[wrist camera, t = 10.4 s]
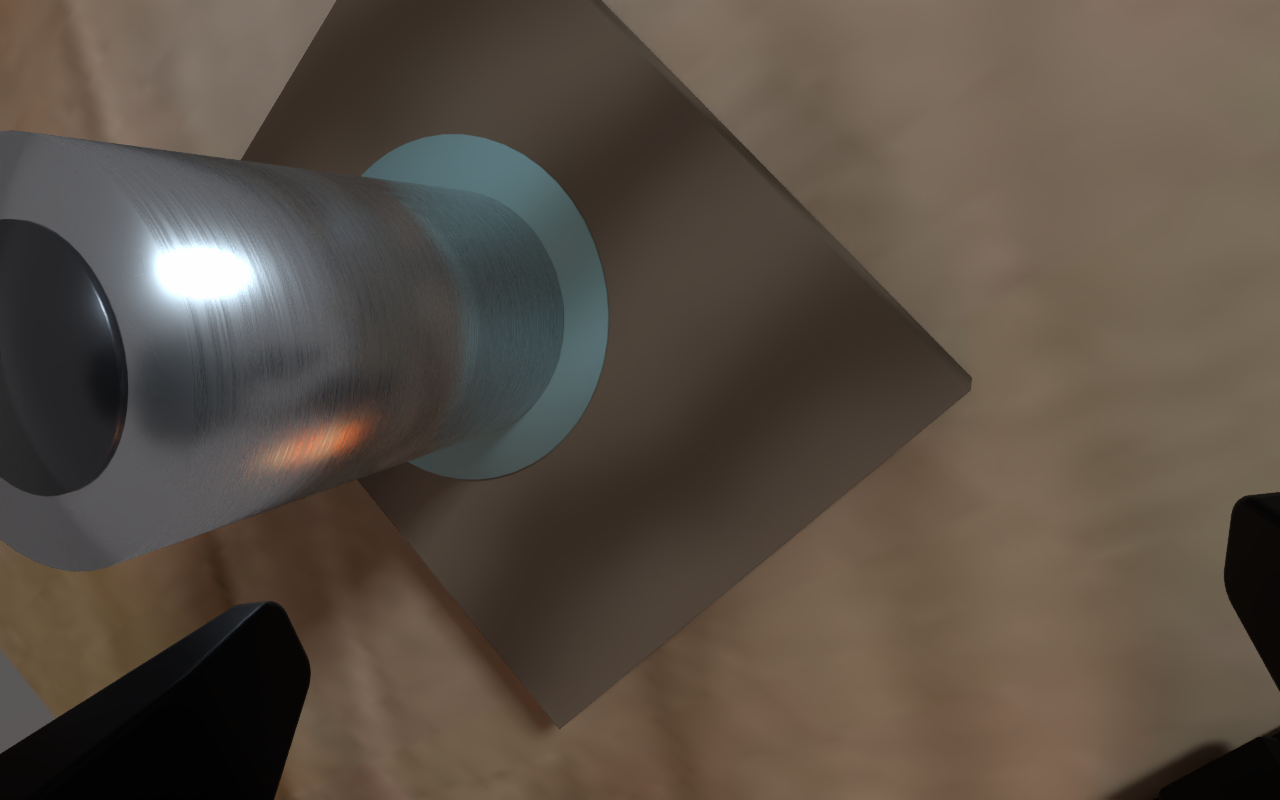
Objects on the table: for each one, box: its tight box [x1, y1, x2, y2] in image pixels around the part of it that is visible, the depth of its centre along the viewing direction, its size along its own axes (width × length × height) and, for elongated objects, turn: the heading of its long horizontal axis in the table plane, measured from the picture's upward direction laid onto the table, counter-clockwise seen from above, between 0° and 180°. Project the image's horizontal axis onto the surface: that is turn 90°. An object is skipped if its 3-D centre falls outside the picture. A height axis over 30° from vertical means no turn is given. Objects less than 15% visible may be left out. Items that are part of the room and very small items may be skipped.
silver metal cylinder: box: [0, 131, 564, 571], centre depth 17 cm, size 6×6×11 cm
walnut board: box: [241, 0, 972, 729], centre depth 22 cm, size 18×14×2 cm
